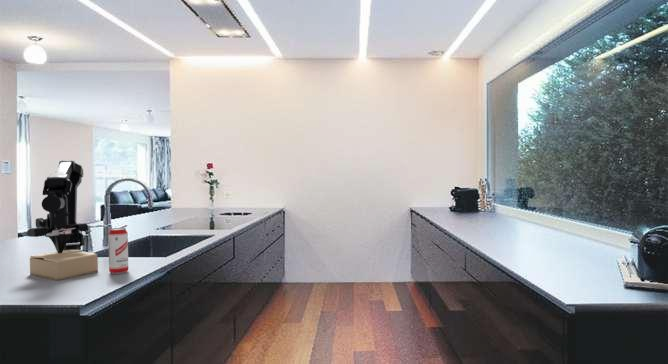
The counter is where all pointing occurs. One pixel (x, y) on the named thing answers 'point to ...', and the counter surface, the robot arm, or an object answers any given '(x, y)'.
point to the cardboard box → (63, 267)
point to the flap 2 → (70, 256)
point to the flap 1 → (55, 254)
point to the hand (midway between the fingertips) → (59, 253)
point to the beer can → (118, 251)
